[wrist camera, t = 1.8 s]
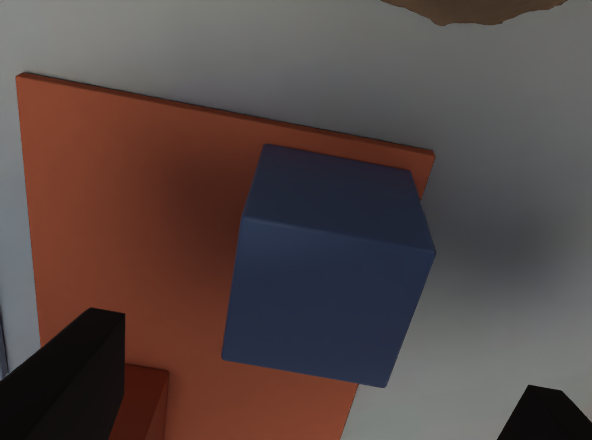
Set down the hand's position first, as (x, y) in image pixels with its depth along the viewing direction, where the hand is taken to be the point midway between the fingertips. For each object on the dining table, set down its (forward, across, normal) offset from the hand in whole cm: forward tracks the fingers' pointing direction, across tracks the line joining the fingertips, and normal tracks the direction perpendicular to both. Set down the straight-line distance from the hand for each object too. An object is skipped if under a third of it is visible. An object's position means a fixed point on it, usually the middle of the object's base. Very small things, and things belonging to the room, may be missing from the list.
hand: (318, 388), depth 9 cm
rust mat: (+7, +3, +5) cm, 9 cm away
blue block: (+6, 0, 0) cm, 6 cm away
